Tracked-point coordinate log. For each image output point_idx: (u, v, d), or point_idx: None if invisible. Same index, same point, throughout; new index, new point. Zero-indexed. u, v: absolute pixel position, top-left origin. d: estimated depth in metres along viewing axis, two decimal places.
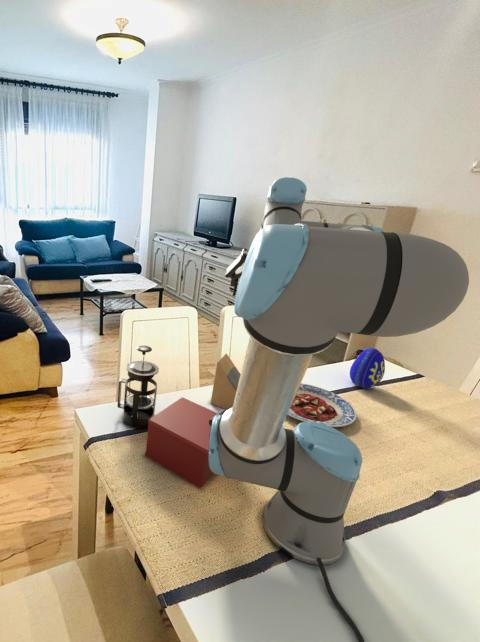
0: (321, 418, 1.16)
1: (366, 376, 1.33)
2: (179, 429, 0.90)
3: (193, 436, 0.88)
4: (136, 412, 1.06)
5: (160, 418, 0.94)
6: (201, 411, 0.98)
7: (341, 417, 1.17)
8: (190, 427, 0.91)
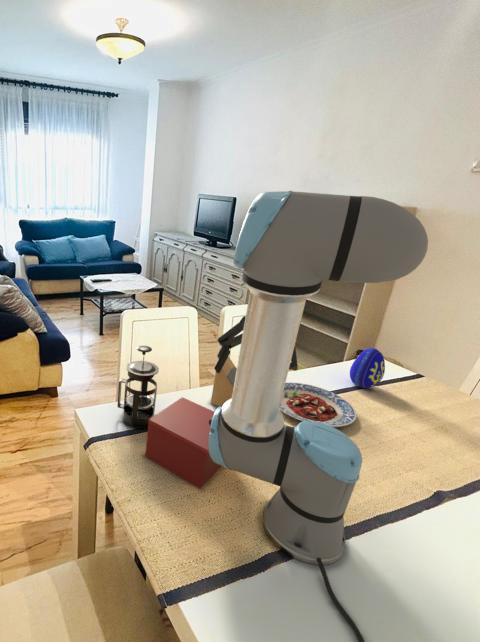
0: (321, 418, 1.16)
1: (366, 376, 1.33)
2: (179, 429, 0.90)
3: (193, 436, 0.88)
4: (136, 412, 1.06)
5: (160, 418, 0.94)
6: (201, 411, 0.98)
7: (341, 417, 1.17)
8: (190, 427, 0.91)
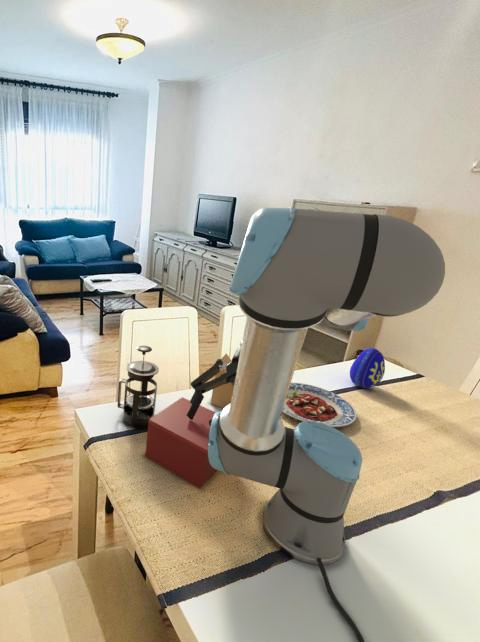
0: (321, 418, 1.16)
1: (366, 376, 1.33)
2: (179, 429, 0.90)
3: (193, 436, 0.88)
4: (136, 412, 1.06)
5: (160, 418, 0.94)
6: (201, 411, 0.98)
7: (341, 417, 1.17)
8: (190, 427, 0.91)
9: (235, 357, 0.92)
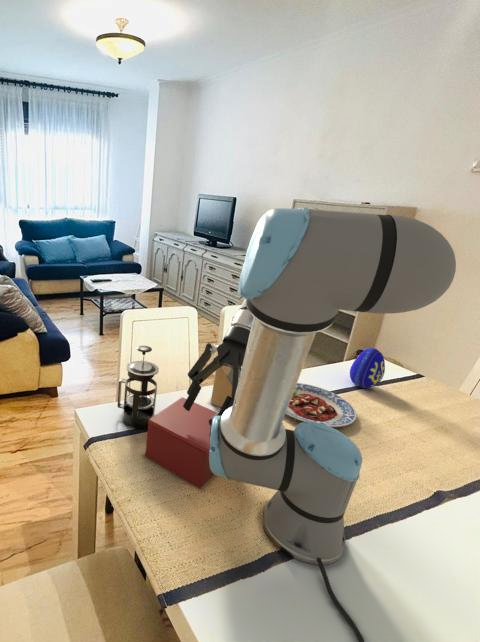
0: (321, 418, 1.16)
1: (366, 376, 1.33)
2: (179, 429, 0.90)
3: (193, 436, 0.88)
4: (136, 412, 1.06)
5: (160, 418, 0.94)
6: (201, 411, 0.98)
7: (341, 417, 1.17)
8: (190, 426, 0.91)
9: (226, 337, 0.91)
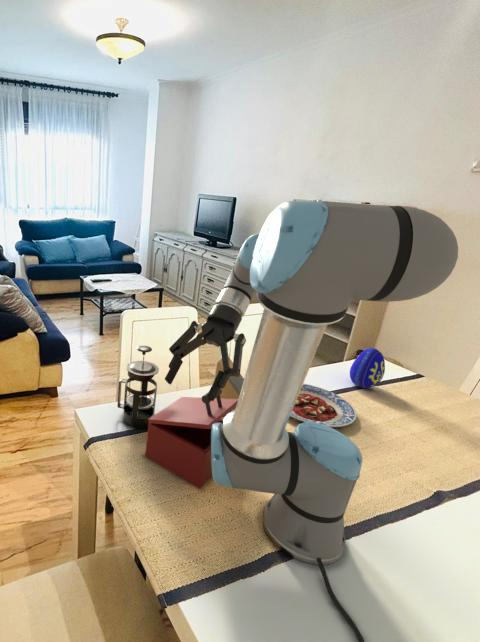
0: (321, 418, 1.16)
1: (366, 376, 1.33)
2: (178, 418, 0.90)
3: (192, 419, 0.87)
4: (136, 412, 1.06)
5: (159, 415, 0.94)
6: (200, 401, 0.97)
7: (341, 417, 1.17)
8: (189, 413, 0.90)
9: (210, 315, 0.92)
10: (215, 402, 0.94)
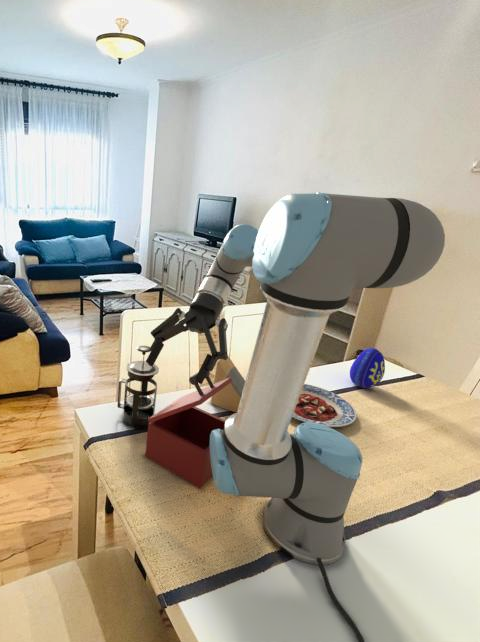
0: (321, 418, 1.16)
1: (366, 376, 1.33)
2: (173, 407, 0.90)
3: (185, 403, 0.87)
4: (136, 412, 1.06)
5: (158, 413, 0.94)
6: (196, 392, 0.97)
7: (341, 417, 1.17)
8: (184, 402, 0.91)
9: (192, 303, 0.94)
10: (209, 387, 0.94)
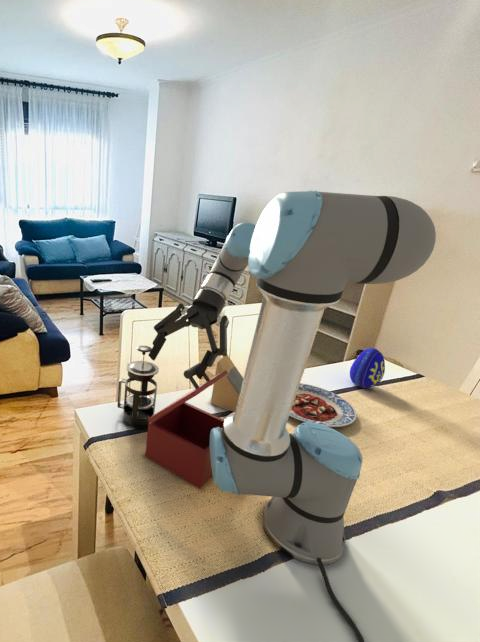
0: (321, 418, 1.16)
1: (366, 376, 1.33)
2: (171, 404, 0.90)
3: (182, 398, 0.87)
4: (136, 412, 1.06)
5: None
6: None
7: (341, 417, 1.17)
8: (181, 397, 0.91)
9: (195, 299, 0.97)
10: (206, 382, 0.94)
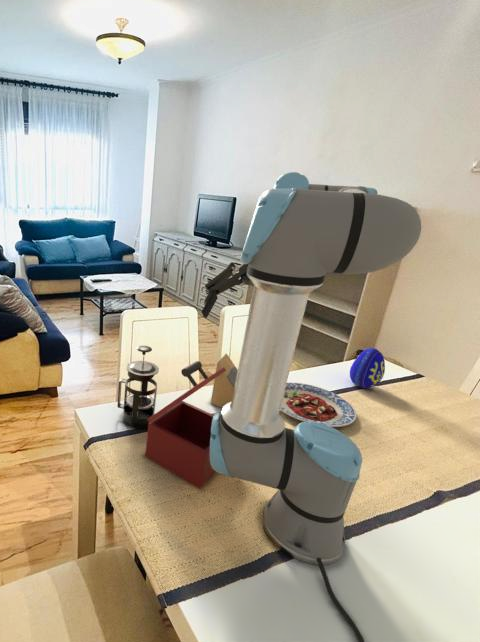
0: (321, 418, 1.16)
1: (366, 376, 1.33)
2: None
3: None
4: (136, 412, 1.06)
5: None
6: None
7: (341, 417, 1.17)
8: None
9: None
10: None
